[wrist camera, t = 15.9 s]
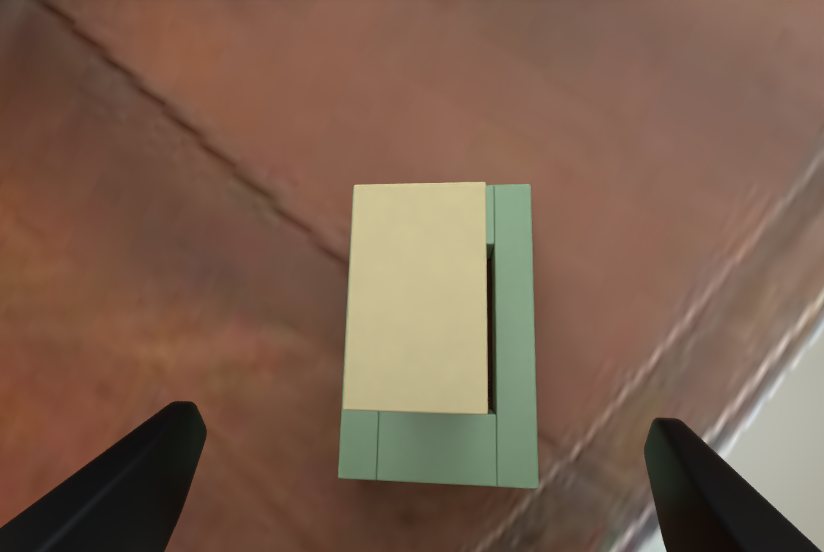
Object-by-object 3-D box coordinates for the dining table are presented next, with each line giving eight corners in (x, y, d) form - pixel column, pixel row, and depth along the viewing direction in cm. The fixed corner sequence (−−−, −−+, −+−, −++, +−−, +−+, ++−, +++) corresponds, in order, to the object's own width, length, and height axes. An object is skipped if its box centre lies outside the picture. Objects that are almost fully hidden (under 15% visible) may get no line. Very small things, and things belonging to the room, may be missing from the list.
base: (529, 473, 18) (538, 489, 16) (353, 465, 19) (337, 478, 17) (523, 205, 20) (531, 183, 18) (365, 208, 21) (352, 187, 19)
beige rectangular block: (476, 393, 19) (488, 414, 9) (404, 391, 20) (342, 410, 10) (476, 273, 20) (485, 181, 10) (406, 273, 20) (353, 183, 11)
